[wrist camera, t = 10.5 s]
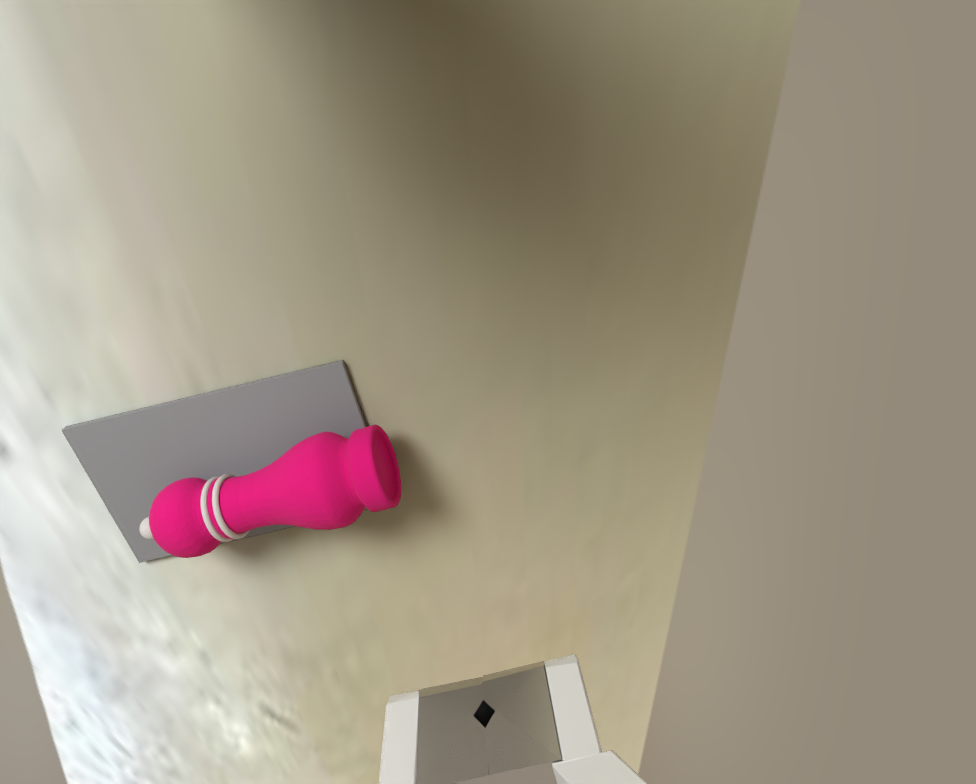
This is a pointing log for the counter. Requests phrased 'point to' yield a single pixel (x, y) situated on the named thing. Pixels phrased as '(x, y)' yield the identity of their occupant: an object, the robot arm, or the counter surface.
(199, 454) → the mat
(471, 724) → the robot arm
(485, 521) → the counter surface
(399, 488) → the pepper mill
